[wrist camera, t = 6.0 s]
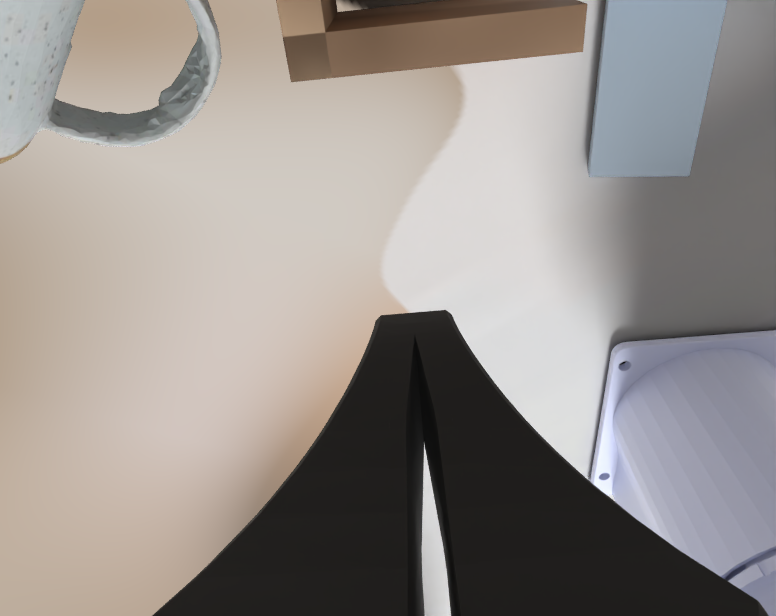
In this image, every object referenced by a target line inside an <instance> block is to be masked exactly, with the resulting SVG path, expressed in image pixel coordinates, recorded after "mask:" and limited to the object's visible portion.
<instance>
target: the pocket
mask: <svg viewBox="0 0 776 616" xmlns="http://www.w3.org/2000/svg"><path fill="white" fill-rule="evenodd" d="M276 3H277V8H278V14H279V19H280V24H281V30H282V35H283V41H284V46H285V51H286V57H287V63H288V68H289V73H290V79H291V82H297V81H307V80H316V79H326V78H336V77H345V76H355V75H365V74H373V73H383V72H393V71H402V70H412V69H422V68H432V67H441V66H451V65H460V64H470V63H479V62H489V61H499V60H508V59H518V58H527V57H537V56H547V55H556V54H566V53H575V52H583V44H584V33H585V22H586V12H587V4H586V3H583V2H580V1H577V0H443V1H434V2H425V3H416V4H407V5H398V6H389V7H380V8H371V9H362V10H353V11H344V12H337V5H336V0H276Z"/></svg>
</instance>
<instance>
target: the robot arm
mask: <svg viewBox="0 0 776 616" xmlns="http://www.w3.org/2000/svg"><path fill="white" fill-rule="evenodd" d="M625 361H627V362H626V363H625V364H622V365H619V364H620V363H622V362H625ZM424 443H425V449H426V454H427V460H428V465H429V471H430V476H431V482H432V487H433V493H434V498H435V504H436V509H437V514H438V520H439V525H440V531H441V536H442V542H443V547H444V554H445V561H446V568H447V576H448V587H449V597H450V608H451V616H776V330H772V331H759V332H746V333H734V334H721V335H708V336H695V337H683V338H670V339H657V340H644V341H632V342H623V343H620V344H618V345H616V346H615V347H614V348H613V350H612V352H611V357H610V363H609V370H608V376H607V382H606V388H605V394H604V400H603V406H602V412H601V418H600V424H599V430H598V436H597V442H596V448H595V455H594V461H593V467H592V473H591V479H590V481H589V480H587V479H586V478H585V477H584V476H583V475H582V474H581V473H579V472H578V471H577V470H576V469H575V468H574V467H573V466H572V465H571V464H570V463H569V462H567V461H566V460H565V459H564V458H563V457H562V456H561V455H560V454H559V453H558V452H557V451H556V450H555V449H554V448H553V447H552V446H551V445H550V444H548V443H547V442H546V441H545V440H544V439H543V438H542V437H541V436H540V435H539V434H538V433H537V431H536V430H535V429H534V428H533V427H532V426H531V425H530V424H529V423H528V422H527V421H526V420H525V419H524V417H523V416H522V415H521V414H520V413H519V412H518V411H517V410H516V408H515V407H514V406H513V405H512V404H511V403H510V401H509V400H508V399H507V398H506V397H505V395H504V394H503V393H502V392H501V390H500V389H499V388H498V387H497V385H496V384H495V383H494V382H493V380H492V379H491V377H490V376H489V375H488V373H487V372H486V371H485V369H484V368H483V367H482V365H481V364H480V363H479V361H478V360H477V358H476V357H475V355H474V354H473V352H472V351H471V349H470V348H469V346H468V345H467V343H466V341H465V340H464V338H463V336H462V335H461V333H460V331H459V329H458V327H457V325H456V323H455V321H454V319H453V317H452V315H451V314H450V313H449V312H448V311H446V310H441V311H429V312H417V313H405V314H393V315H381V316H380V317H379V318H378V319H377V320H376V322H375V326H374V330H373V332H372V335H371V338H370V341H369V343H368V346H367V348H366V350H365V353H364V355H363V357H362V359H361V362H360V364H359V366H358V368H357V370H356V372H355V374H354V376H353V378H352V380H351V382H350V384H349V386H348V388H347V389H346V391H345V393H344V395H343V397H342V398H341V400H340V402H339V403H338V405H337V407H336V408H335V410H334V412H333V413H332V415H331V417H330V418H329V420H328V422H327V423H326V425H325V427H324V428H323V430H322V431H321V433H320V434H319V436H318V437H317V439H316V440H315V442H314V443H313V444H312V446H311V447H310V449H309V450H308V452H307V453H306V454H305V456H304V457H303V459H302V460H301V461H300V463H299V464H298V465H297V467H296V468H295V469H294V471H293V472H292V473H291V474H290V476H289V477H288V478H287V479H286V481H285V482H284V483H283V484H282V485H281V487H280V488H279V489H278V490H277V491H276V493H275V494H274V495H273V496H272V498H271V499H270V500H269V501H268V502H267V503H266V505H265V506H264V507H263V508H262V509H261V510H260V511H259V513H258V514H257V515H256V516H255V517H254V518H253V519H252V520H251V521H250V522H249V523H248V525H246V527H245V528H244V529H243V530H242V531H241V532H240V533H239V534H238V535H237V536H236V537H235V538H234V539H233V540H232V541H231V542H230V543H229V544H228V545H227V546H226V547H225V548H224V549H223V550H222V551H221V552H220V553H219V554H218V555H217V556H216V558H215V559H214V560H213V561H212V562H211V563H210V564H209V565H208V566H207V567H205V568H204V569H203V570H202V571H201V572H200V573H199V574H198V575H197V576H196V577H195V578H194V579H193V580H192V581H191V582H190V583H188V584H187V585H186V586H185V587H184V588H183V589H182V590H180V591H179V592H178V593H177V594H176V595H175V596H174V597H173V598H172V599H170V600H169V601H168V602H167V603H166V604H165V605H164V606H163V607H161V608H160V609H159V610H158V611H157V612H156V613H155V614H154V615H153V616H424V600H423V584H422V553H421V546H422V505H423V462H424ZM607 495H613V497H614V499H615V501H613V500H612V499H611V498H610V497H608V496H607Z"/></svg>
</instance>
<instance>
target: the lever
mask: <svg viewBox="0 0 776 616" xmlns="http://www.w3.org/2000/svg"><path fill="white" fill-rule="evenodd" d="M726 5H727V0H606V4H605V13H604V22H603V32H602V41H601V50H600V59H599V69H598V78H597V87H596V96H595V105H594V115H593V124H592V133H591V142H590V152H589V161H588V173H589V177H665V176H690V171H691V166H692V162H693V157H694V152H695V148H696V143H697V139H698V134H699V129H700V125H701V120H702V115H703V111H704V106H705V102H706V97H707V92H708V88H709V83H710V78H711V74H712V69H713V65H714V60H715V55H716V51H717V46H718V41H719V37H720V32H721V28H722V23H723V18H724V14H725V9H726Z"/></svg>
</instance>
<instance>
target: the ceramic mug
mask: <svg viewBox="0 0 776 616" xmlns="http://www.w3.org/2000/svg"><path fill="white" fill-rule="evenodd" d="M84 1H85V0H0V164H1V163H3V162H6V161H8V160H10V159H12V158H14V157H15V156H17V155H18V154H19V153H20V152H22V151H23V150H24V149H25V148H26V147H27V146H28V145H29V143H30V142H31V140H32V139H33V137H34V136H35V135H36V133H37V132H38V131H41V130H43V129H46V130H50V131H54V132H56V133H58V134H59V135H61V136H64V137H68V138H72V139H75V140H78V141H80V142H86V143H93V144H97V145H102V146H126V147H134V146H142V145H146V144H149V143H152V142H155V141H158V140H162V139H164V138H166V137H168V136H170V135H172V134H174V133H176V132H178V131H179V130H181V129H182V128H183V127H184V126H185V125H186V124H187V123H189V122H190V121H191V120H192V119H193V118H194V117H195V116H196V115H197V113H198V112H199V111H200V110H201V108H202V107H203V105H204V103H205V102H206V100H207V98H208V96H209V94H210V93H211V91H212V89H213V87H214V85H215V83H216V79H217V76H218V72H219V68H220V64H221V62H220V61H221V49H220V41H219V32H218V29H217V25H216V23H215V20H214V17H213V14H212V11H211V8H210V6H209V3H208V0H186V1H187V3H188V5H189V8H190V11H191V13H192V15H193V17H194V19H195V20H196V23H197V30H198V32H199V35H198V39H197V42H196V44H195V45H194V47H193V48H192V51H191V53H190V55H189V56H188V58H187V61H186V62H185V65H184V67H183V69H182V71H181V72H180V74H179V76H178V77H177V78H176V80H175V81H174V82H173V84H172V86H170V87H169V88H167V89H165V90H163V91H162V92H161V95H160V98H159V106H157V107H155V108H153V109H151V110H147V111H142V112H138V113H132V114H116V113H112V112H105V113H102V112H98V111H94V110H90V109H85V108H80V107H76V106H74V105H71V104H68V103H65V102H62V101H59V100H57V99H55V95H56V91H57V88H58V85H59V82H60V79H61V76H62V72H63V69H64V65H65V63H66V60H67V58H68V55H69V53H70V50H71V48H72V46H71V38H72V36H73V32H74V29H75V26H76V23H77V20H78V17H79V15H80V13H81V10H82V7H83V4H84Z"/></svg>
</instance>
